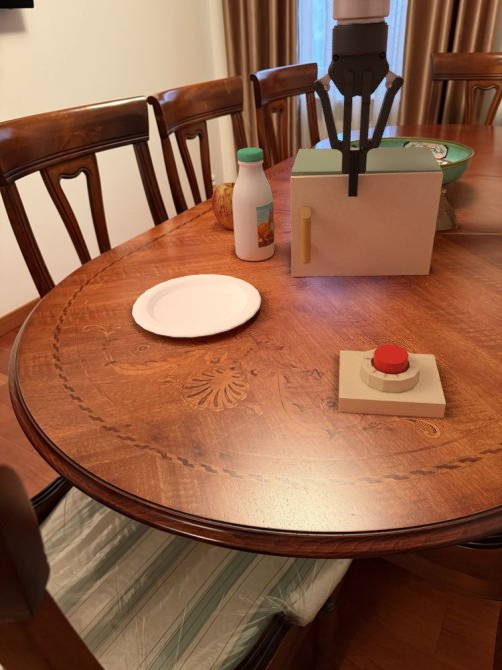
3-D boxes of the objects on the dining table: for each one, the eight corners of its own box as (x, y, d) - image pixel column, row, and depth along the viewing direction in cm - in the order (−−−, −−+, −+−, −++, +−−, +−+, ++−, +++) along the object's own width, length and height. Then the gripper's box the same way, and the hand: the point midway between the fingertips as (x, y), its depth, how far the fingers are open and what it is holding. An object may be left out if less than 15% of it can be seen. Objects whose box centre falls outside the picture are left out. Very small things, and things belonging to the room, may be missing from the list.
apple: (226, 217, 122) (222, 174, 116) (261, 221, 118) (259, 177, 113) (207, 231, 115) (202, 186, 109) (243, 236, 111) (240, 189, 106)
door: (435, 289, 86) (451, 182, 77) (291, 290, 89) (289, 187, 79) (427, 272, 92) (442, 171, 82) (291, 274, 94) (290, 176, 84)
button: (405, 357, 64) (407, 345, 64) (408, 376, 61) (410, 364, 60) (372, 355, 65) (373, 343, 64) (373, 374, 62) (374, 362, 61)
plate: (259, 278, 93) (259, 270, 92) (264, 341, 76) (263, 331, 75) (144, 285, 94) (142, 276, 93) (122, 349, 76) (120, 339, 75)
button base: (431, 368, 68) (436, 342, 66) (443, 418, 60) (448, 391, 58) (339, 363, 70) (340, 338, 68) (338, 412, 62) (339, 385, 60)
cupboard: (427, 272, 92) (442, 169, 82) (292, 270, 96) (291, 171, 86) (417, 238, 105) (429, 146, 96) (299, 237, 109) (298, 148, 99)
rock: (464, 213, 109) (417, 203, 112) (471, 189, 101) (420, 178, 104) (448, 257, 106) (400, 245, 110) (454, 235, 99) (402, 223, 102)
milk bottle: (245, 265, 99) (238, 157, 88) (229, 251, 105) (221, 148, 94) (281, 256, 101) (279, 150, 90) (264, 243, 107) (260, 142, 96)
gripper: (407, 18, 72) (392, 186, 85) (313, 24, 74) (313, 187, 87) (412, 19, 66) (396, 201, 79) (311, 25, 68) (310, 201, 81)
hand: (352, 194), depth 83 cm, fingers closed
